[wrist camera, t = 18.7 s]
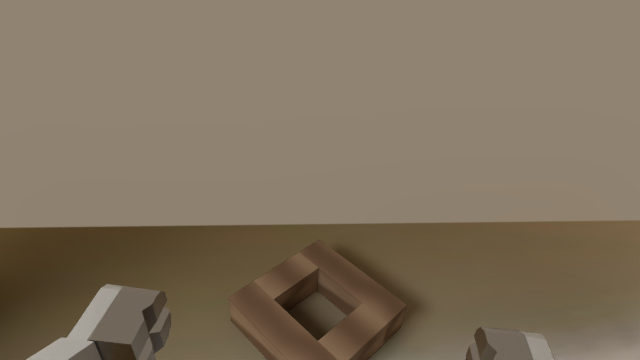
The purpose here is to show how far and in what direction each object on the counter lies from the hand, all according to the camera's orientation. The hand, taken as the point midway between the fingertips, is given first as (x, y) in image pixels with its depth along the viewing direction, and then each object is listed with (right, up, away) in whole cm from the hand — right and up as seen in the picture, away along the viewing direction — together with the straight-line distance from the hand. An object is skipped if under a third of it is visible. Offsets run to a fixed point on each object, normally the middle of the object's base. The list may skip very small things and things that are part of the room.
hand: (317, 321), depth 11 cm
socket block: (0, -13, +37) cm, 40 cm away
